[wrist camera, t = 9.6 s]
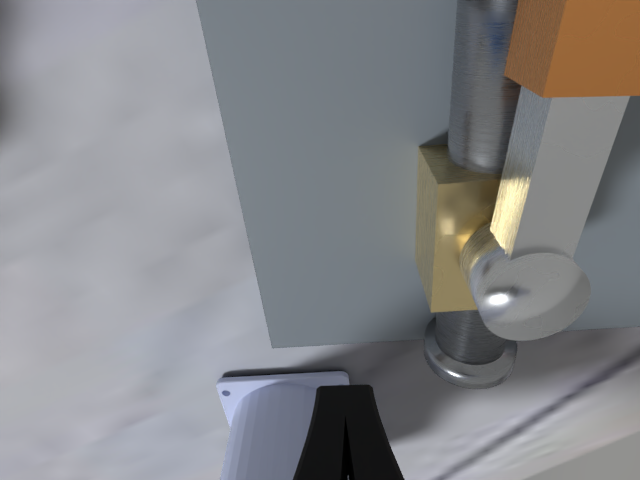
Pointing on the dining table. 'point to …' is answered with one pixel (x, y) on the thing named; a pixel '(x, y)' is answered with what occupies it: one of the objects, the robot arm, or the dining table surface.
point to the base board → (369, 165)
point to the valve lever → (552, 161)
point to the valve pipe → (466, 195)
